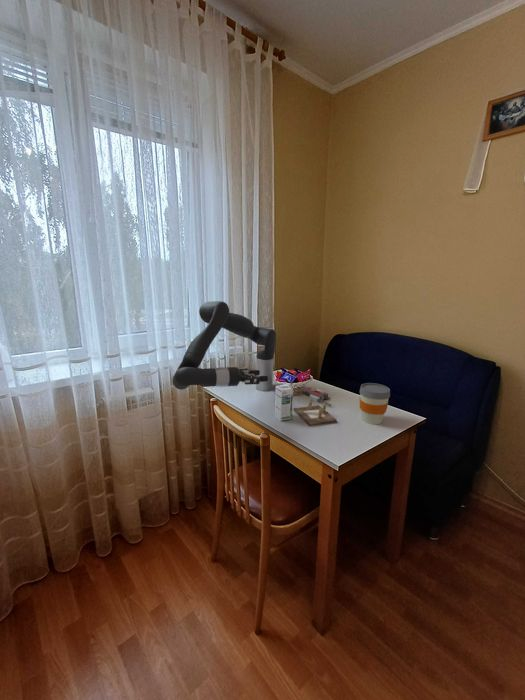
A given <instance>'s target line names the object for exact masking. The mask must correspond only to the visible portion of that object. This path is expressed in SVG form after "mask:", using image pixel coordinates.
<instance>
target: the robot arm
mask: <svg viewBox="0 0 525 700" xmlns="http://www.w3.org/2000/svg"><path fill="white" fill-rule="evenodd" d="M198 314H199V317H200V319H201V320H202V321H203V322H204V323H205V324H207V326H206V327H205V328H204V329H203V330H202V331H200V332H199V334H197V336H195V337H194V338H193V340H192V341H191V342H190V344H189V345H188V347H187V349H186V351H185V353H184V355H183V358H182V360H181V363H180V364H179V365H178V368H177V369H176V371H175V373H174V374H173V376H172V384H173V386H174V388H176V389H177V390H181V391H182V390H186V389H188V388H189V387H190V386H200V387H204V388H206V387H209V388H210V387H218V388H219V387H220V388H225V387H238V385H239V384H240V382H241V383H244V385H255V389H256V390H257V391H260V392H261V391H262V392H263V391H265V392H266V391H271V390H272V389H273V382H274V356H275V352H276V343H277V340H276V339H277V333H276V331H275V330H274V329H273V328H267V327H262V326H261V327H259V326H256V325H254V323H253V321H252V320H251V319H249V318H248V317H246V316H244V315H242V314H237V313H233V312H230V308H229V305H228V304H227V302H225V301H222V300H221V301H219V300H218V301H217V300H216V301H206V302H204V303H202V304H201V305H200V307H199V310H198ZM222 329H224V330H226V331H229V332H230V333H233V334H234V335H237V336H239V337H242V338H245V339H248V340H251V341H252V343H253V342H254V343H255V344H257V345H259V346H263V347H264V349H263V350H259V351H257V352H256V358H255V359H256V360H255V362H256V363H255V364H256V365H255V366H256V369H250V368H238V367H236V366H231V367H230V366H227V367H225V366H223V367H214V368H213V367H211V368H210V367H209V368H208V367H207V368H201V367H200V365H201V364H202V362H203V359H204V358H205V355H206V353H207V351H208V349H209V347H210V346H211V345H212V343H213V341H214V340H215V338H216V337H217V335H218V334H219V333H220V331H221V330H222ZM199 367H200V368H199Z"/></svg>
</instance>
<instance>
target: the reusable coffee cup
mask: <svg viewBox="0 0 525 700" xmlns="http://www.w3.org/2000/svg"><path fill="white" fill-rule="evenodd" d="M359 395H360V396H359V398H358V399H359V400H358V401H359V409H360V419H361V421H363V422H364V423H366V424H370V425H380V424H382V423H381V422H383V420H384V415H385V413H386V412H387V409H388V405H389V399H390V397H391V389H390V388H389V387H388V386H386V385H384V384H380V383H374V382H366V383H362V384H360V389H359Z"/></svg>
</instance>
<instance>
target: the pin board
mask: <svg viewBox="0 0 525 700" xmlns="http://www.w3.org/2000/svg"><path fill="white" fill-rule="evenodd" d="M312 401H313V400H311V399H308V405H307V406H303V407H301V406H299V407H294V408H293V411H294V413H295V414H296V415H298V417H299V418H300V419H302V420H303V422H304V423H305V424H307V425H308V427H315V426H316V427H317V426H322V425H329V424H336V423H337V422H338V420H337V418H335V417H334V416H333V415H332V414H331V413H330V412H328V411H327V410H326V409H327V404H326V403H322V406H321V405H319V404H318V405H317V404H316V405H312V404H313V402H312Z"/></svg>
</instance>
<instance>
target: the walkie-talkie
mask: <svg viewBox="0 0 525 700" xmlns="http://www.w3.org/2000/svg"><path fill="white" fill-rule="evenodd" d="M301 393H302V394H303V395H304V396H307V397H309V398H310V400H312V401H313V402H315V403H317V402H319V403H322V404H323V403H326V405H328V406H332V404H331V403H329V402H327V401H325V400H328V399H329V393H327V392H325V391H324V390H322V389H321V388H317V389H316V388H315V387H309V388H305V389H304V391H302V392H301Z"/></svg>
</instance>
